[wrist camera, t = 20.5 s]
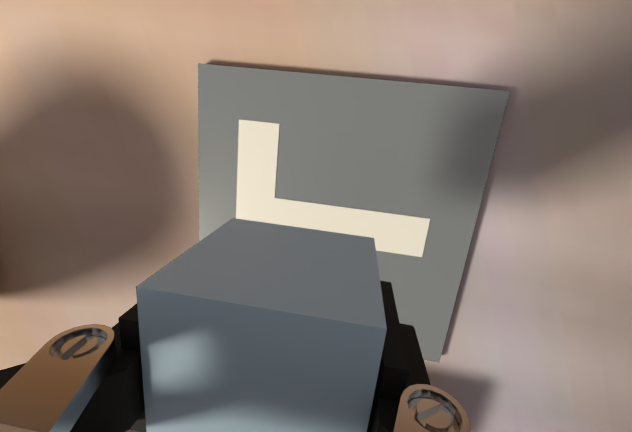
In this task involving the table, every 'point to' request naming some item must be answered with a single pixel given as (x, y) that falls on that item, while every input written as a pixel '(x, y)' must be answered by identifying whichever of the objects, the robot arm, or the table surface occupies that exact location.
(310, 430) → the blue cube
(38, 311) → the table surface
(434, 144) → the letter board
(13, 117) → the table surface
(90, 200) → the table surface
